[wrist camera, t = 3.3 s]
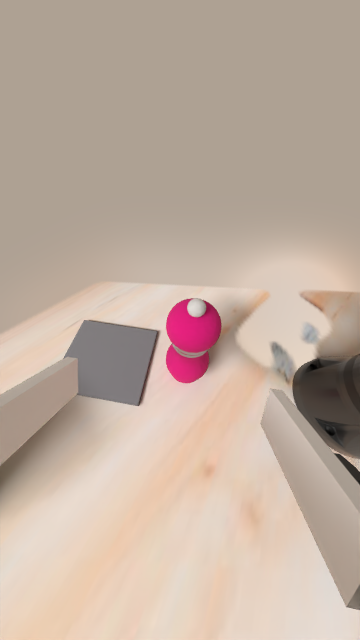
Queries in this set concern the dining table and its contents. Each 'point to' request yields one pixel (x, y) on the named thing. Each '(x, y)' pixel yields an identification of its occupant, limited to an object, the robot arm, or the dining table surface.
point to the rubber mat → (112, 361)
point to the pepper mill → (191, 338)
